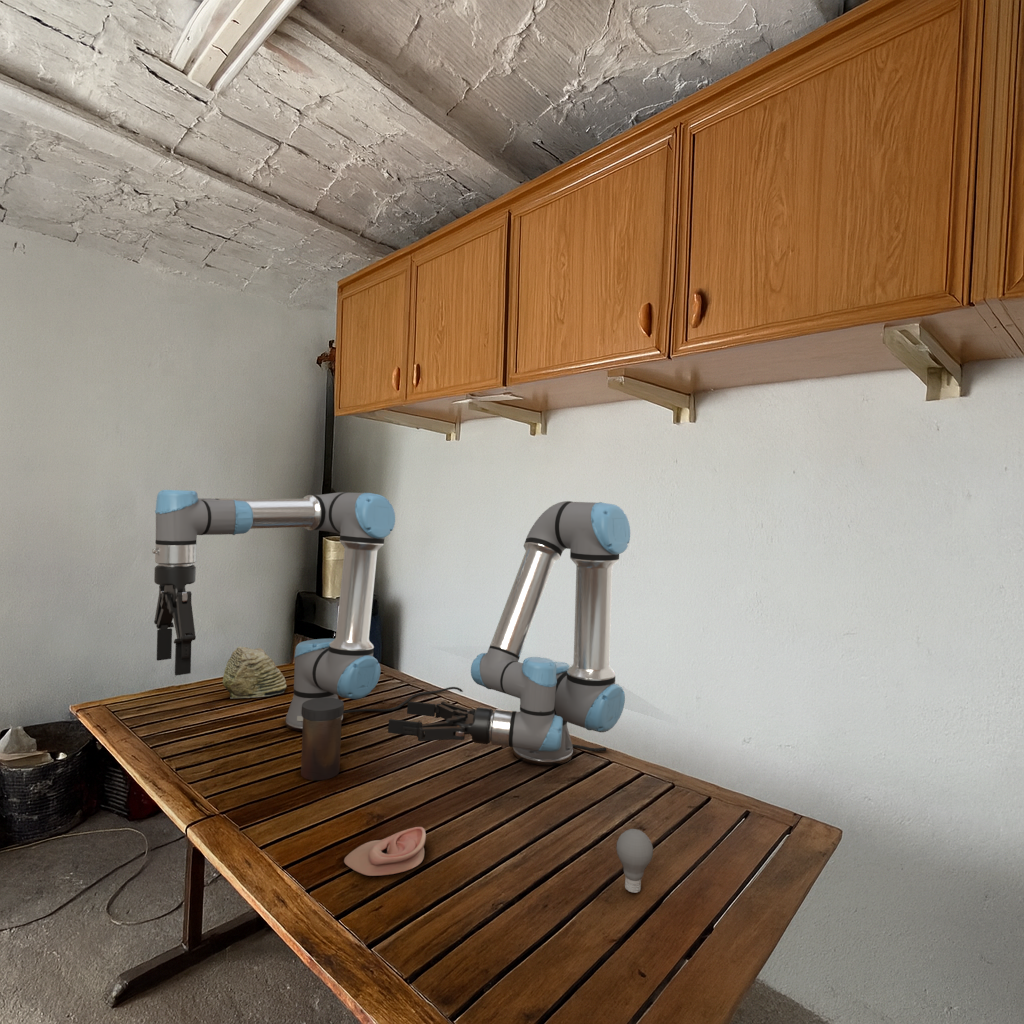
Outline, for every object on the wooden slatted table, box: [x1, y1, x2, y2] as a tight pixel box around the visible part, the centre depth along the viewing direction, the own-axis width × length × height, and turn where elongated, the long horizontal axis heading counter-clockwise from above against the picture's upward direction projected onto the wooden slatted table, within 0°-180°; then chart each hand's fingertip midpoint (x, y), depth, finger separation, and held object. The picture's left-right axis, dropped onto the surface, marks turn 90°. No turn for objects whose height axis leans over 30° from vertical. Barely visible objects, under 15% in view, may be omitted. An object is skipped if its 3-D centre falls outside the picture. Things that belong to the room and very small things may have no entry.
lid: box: [301, 698, 345, 721], centre depth 145 cm, size 9×9×2 cm
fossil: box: [222, 646, 288, 699], centre depth 198 cm, size 9×18×15 cm, turn 132°
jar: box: [300, 716, 342, 781], centre depth 145 cm, size 8×8×15 cm
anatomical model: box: [343, 826, 427, 877], centre depth 112 cm, size 13×4×12 cm
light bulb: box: [615, 828, 654, 894], centre depth 106 cm, size 6×6×10 cm
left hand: (173, 666), depth 131 cm, fingers open, 13 cm apart
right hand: (398, 716), depth 142 cm, fingers open, 13 cm apart
